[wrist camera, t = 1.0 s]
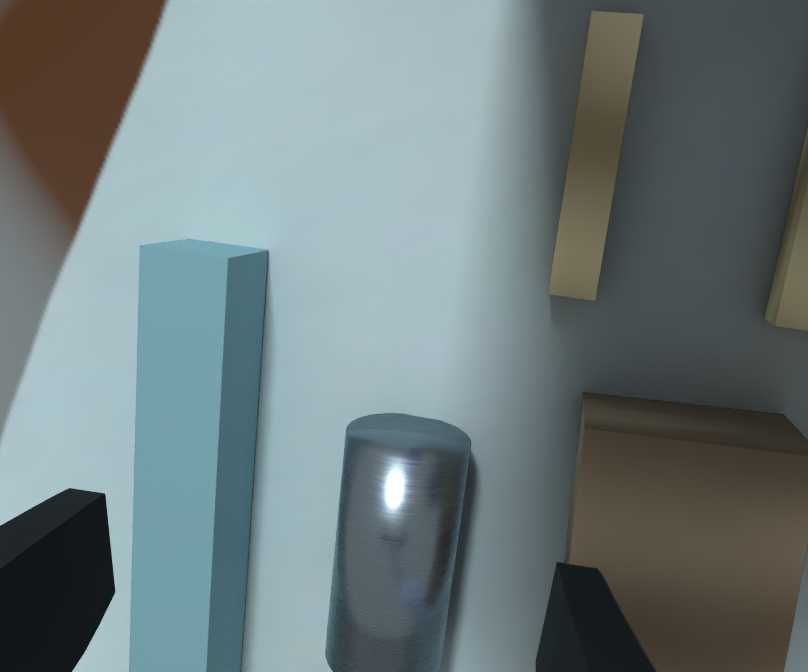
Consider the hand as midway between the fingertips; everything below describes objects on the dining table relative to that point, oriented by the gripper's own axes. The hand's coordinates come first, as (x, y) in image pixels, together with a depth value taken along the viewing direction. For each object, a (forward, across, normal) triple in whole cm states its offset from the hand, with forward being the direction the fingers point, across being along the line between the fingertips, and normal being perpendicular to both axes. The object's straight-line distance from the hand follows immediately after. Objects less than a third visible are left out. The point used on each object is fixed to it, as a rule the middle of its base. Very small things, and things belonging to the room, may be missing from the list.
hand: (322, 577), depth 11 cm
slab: (+11, -9, +8) cm, 17 cm away
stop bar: (+13, +7, +9) cm, 17 cm away
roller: (+12, -1, +8) cm, 15 cm away
